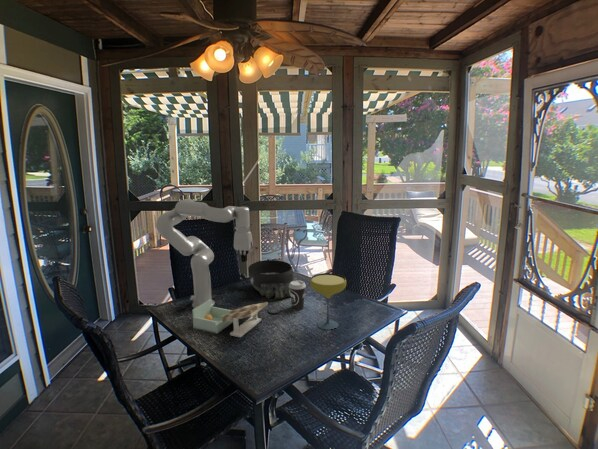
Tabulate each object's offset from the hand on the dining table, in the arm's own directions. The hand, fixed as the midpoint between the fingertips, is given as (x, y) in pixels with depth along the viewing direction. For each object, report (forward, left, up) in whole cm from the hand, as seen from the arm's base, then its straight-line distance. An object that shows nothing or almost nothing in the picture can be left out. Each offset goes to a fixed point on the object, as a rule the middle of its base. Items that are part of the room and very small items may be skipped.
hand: (244, 261), depth 213 cm
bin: (-3, -26, -27) cm, 38 cm away
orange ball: (-6, -26, -24) cm, 36 cm away
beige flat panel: (+14, -22, -19) cm, 32 cm away
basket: (+2, +27, -28) cm, 39 cm away
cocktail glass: (+51, -3, -27) cm, 58 cm away
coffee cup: (+28, +10, -27) cm, 40 cm away
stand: (+14, -22, -27) cm, 38 cm away
